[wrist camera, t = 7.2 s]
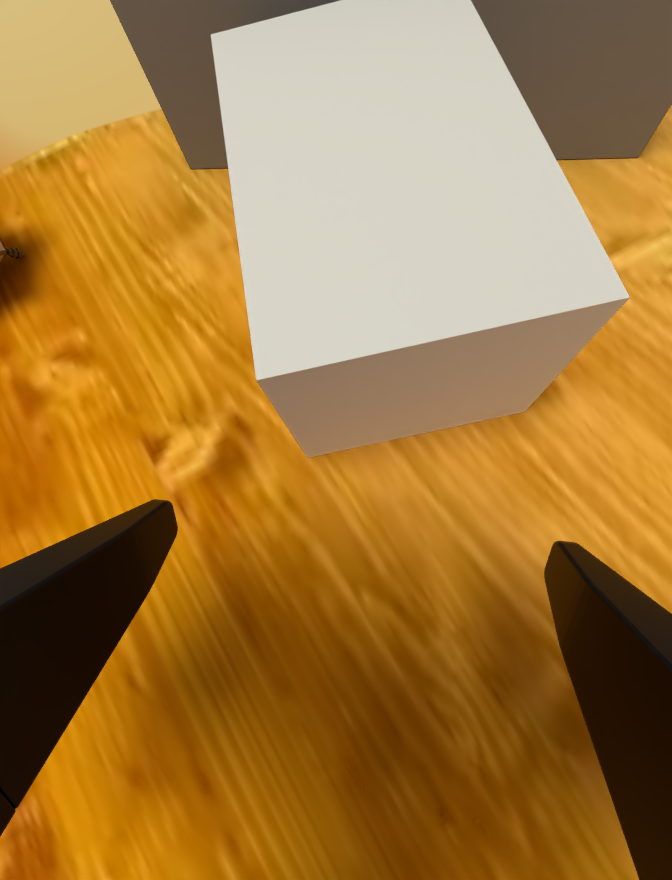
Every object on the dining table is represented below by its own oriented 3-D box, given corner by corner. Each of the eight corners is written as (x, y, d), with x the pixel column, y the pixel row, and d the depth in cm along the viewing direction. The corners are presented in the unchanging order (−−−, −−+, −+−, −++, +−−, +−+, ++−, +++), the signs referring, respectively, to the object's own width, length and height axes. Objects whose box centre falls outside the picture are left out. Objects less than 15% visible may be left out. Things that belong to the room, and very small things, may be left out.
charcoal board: (633, 126, 22) (825, -212, 12) (638, 157, 21) (846, -176, 12) (198, 141, 25) (91, -110, 16) (190, 168, 25) (72, -79, 15)
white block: (522, 413, 18) (629, 297, 10) (308, 458, 18) (256, 380, 10) (430, 167, 23) (454, -30, 15) (265, 207, 23) (210, 34, 16)
